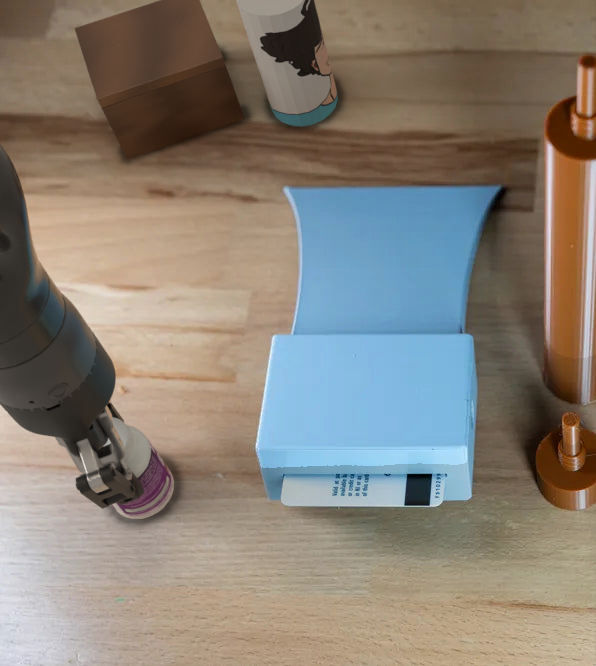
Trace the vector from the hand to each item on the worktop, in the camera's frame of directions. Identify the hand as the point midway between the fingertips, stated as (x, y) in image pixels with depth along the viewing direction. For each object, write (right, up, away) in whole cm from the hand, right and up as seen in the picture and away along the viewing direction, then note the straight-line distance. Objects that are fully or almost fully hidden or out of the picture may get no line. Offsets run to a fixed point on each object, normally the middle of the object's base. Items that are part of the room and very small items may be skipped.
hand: (121, 462), depth 92 cm
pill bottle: (0, -3, +5) cm, 6 cm away
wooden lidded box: (-3, +33, +26) cm, 42 cm away
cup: (+10, +33, +26) cm, 43 cm away
